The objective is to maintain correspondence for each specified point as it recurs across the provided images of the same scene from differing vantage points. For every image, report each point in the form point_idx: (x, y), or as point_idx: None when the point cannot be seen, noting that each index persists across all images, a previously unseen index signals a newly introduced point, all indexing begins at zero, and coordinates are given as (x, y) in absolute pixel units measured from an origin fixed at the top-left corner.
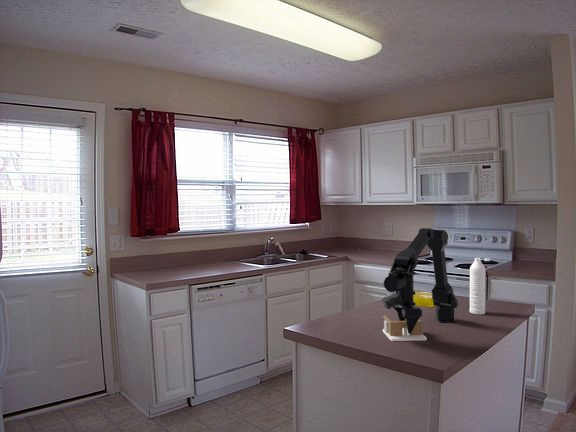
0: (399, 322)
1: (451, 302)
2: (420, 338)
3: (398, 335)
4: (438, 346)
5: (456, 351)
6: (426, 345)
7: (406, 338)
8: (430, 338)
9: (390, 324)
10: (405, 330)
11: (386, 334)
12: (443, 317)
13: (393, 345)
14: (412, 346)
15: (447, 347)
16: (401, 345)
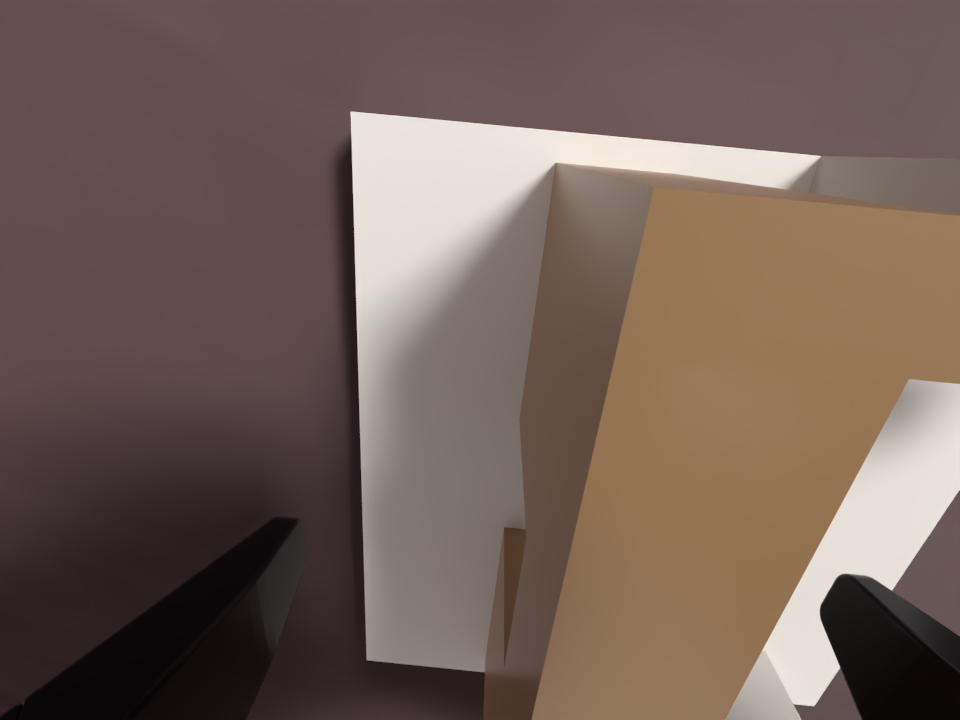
0: (548, 613)
1: None
2: (366, 592)
3: (530, 349)
4: None
5: (24, 697)
6: (176, 551)
7: (363, 421)
8: (443, 677)
9: (619, 192)
10: None
11: (780, 153)
12: None
13: (99, 47)
14: (103, 377)
15: None
16: (126, 222)
